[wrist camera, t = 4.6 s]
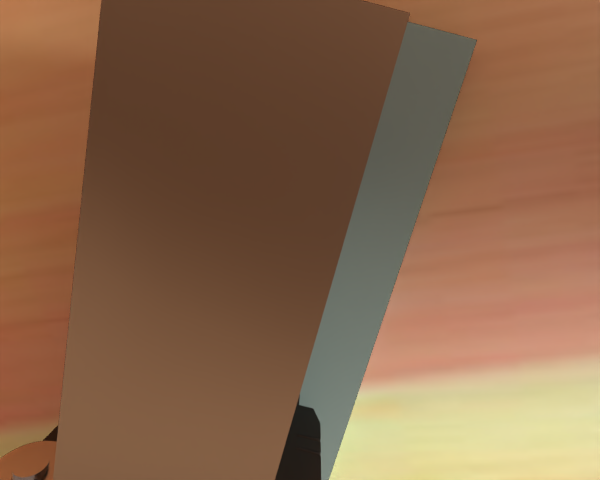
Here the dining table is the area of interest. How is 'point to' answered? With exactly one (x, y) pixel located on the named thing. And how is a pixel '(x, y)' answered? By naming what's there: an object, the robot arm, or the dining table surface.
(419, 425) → the dining table surface
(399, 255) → the mat
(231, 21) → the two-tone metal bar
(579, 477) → the dining table surface
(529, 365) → the dining table surface
